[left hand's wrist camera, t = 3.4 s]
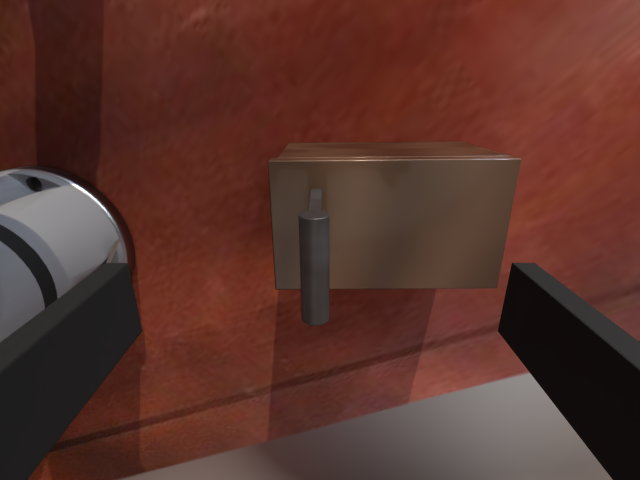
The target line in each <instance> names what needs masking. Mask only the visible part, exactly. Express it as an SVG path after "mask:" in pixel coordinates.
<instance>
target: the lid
mask: <svg viewBox="0 0 640 480" xmlns="http://www.w3.org/2000/svg"><path fill="white" fill-rule="evenodd" d="M520 162H521V159H520V158H517V157H513V156H445V157H329V158H270V159H269V161H268V172H269V189H270V205H271V222H272V239H273V256H274V272H275V288H276V289H301V314H302V320H303V322H304V323H306V324H308V325H313V326H318V325H323V324H325V323H326V322H328V320H329V318H330V289H442V288H497V286H498V281H499V275H500V270H501V264H502V259H503V254H504V248H505V243H506V237H507V232H508V227H509V221H510V216H511V210H512V205H513V199H514V194H515V189H516V183H517V178H518V172H519V167H520Z"/></svg>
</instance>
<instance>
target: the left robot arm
mask: <svg viewBox="0 0 640 480" xmlns="http://www.w3.org/2000/svg"><path fill="white" fill-rule="evenodd" d="M133 268H134V246H133V241H132V238H131V235H130V232H129V229H128V227H127V225H126V223H125V221H124V219H123V218H122V216H121V214H120V213H119V211H118V210H117V209H116V208H115V206H114V205H113V204H112V203H111V202H110V201H109V199H108V198H107V197H105V196H104V195H103V194H102V193H101V192H100V191H99V190H97V189H96V188H95V187H94V186H92V185H91V184H89V183H88V182H86V181H84V180H83V179H81V178H79V177H77V176H75V175H73V174H71V173H68V172H65V171H62V170H59V169H55V168H50V167H44V166H23V167H17V168H13V169H8V170H3V171H0V480H27V479H28V478H29V477H30V475H31V474H32V473H33V471H34V470H35V469H36V468H37V466H38V465H39V464H40V462H41V461H42V460H43V458H44V457H45V456H46V455H47V453H48V452H49V451H50V449H51V448H52V447H53V446H54V444H55V443H56V442H57V440H58V439H59V438H60V437H61V435H62V434H63V433H64V431H65V430H66V429H67V427H68V426H69V425H70V424H71V422H72V421H73V420H74V418H75V417H76V416H77V415H78V413H79V412H80V411H81V409H82V408H83V407H84V405H85V404H86V403H87V402H88V400H89V399H90V398H91V396H92V395H93V394H94V393H95V391H96V390H97V389H98V387H99V386H100V385H101V384H102V382H103V381H104V380H105V378H106V377H107V376H108V374H109V373H110V372H111V371H112V369H113V368H114V367H115V365H116V364H117V363H118V362H119V360H120V359H121V358H122V356H123V355H124V354H125V352H126V351H127V350H128V349H129V347H130V346H131V345H132V343H133V342H134V341H135V340H136V338H137V337H138V336H139V334H140V333H141V332H142V329H141V324H140V319H139V314H138V309H137V304H136V300H135V295H134V290H133V285H132V280H131V276H132V272H133ZM498 332H499V333H500V334H501V336H502V337H503V338H504V340H505V341H506V342H507V343H508V345H509V346H510V347H511V349H512V350H513V351H514V352H515V354H516V355H517V356H518V358H519V359H520V360H521V362H522V363H523V364H524V365H525V367H526V368H527V369H528V371H529V372H530V373H531V374H532V376H533V377H534V378H535V380H536V381H537V382H538V383H539V385H540V386H541V387H542V389H543V390H544V391H545V393H546V394H547V395H548V396H549V398H550V399H551V400H552V402H553V403H554V404H555V405H556V407H557V408H558V409H559V411H560V412H561V413H562V414H563V416H564V417H565V418H566V420H567V421H568V422H569V424H570V425H571V426H572V427H573V429H574V430H575V431H576V433H577V434H578V435H579V437H580V438H581V439H582V440H583V442H584V443H585V444H586V446H587V447H588V448H589V449H590V451H591V452H592V453H593V454H594V456H595V457H596V458H597V460H598V461H599V462H600V464H601V465H602V466H603V468H604V469H605V470H606V471H607V473H608V474H609V475H610V477H611V478H612V479H613V480H640V341H637V340H636V339H635V338H633V337H632V336H631V335H629V334H628V333H627V332H625V331H624V330H623V329H621V328H620V327H619V326H617V325H616V324H615V323H613V322H612V321H611V320H609V319H608V318H607V317H605V316H604V315H603V314H601V313H600V312H599V311H597V310H596V309H595V308H593V307H592V306H591V305H590V304H588V303H587V302H586V301H584V300H583V299H582V298H580V297H579V296H578V295H576V294H575V293H574V292H572V291H571V290H570V289H568V288H567V287H566V286H564V285H563V284H562V283H560V282H559V281H558V280H556V279H555V278H554V277H552V276H551V275H550V274H548V273H547V272H546V271H544V270H543V269H542V268H540V267H539V266H538V265H537V264H535V263H512V266H511V271H510V275H509V280H508V285H507V290H506V295H505V300H504V304H503V309H502V314H501V319H500V324H499V329H498Z"/></svg>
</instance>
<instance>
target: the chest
mask: <svg viewBox="0 0 640 480" xmlns="http://www.w3.org/2000/svg"><path fill="white" fill-rule="evenodd" d="M445 156H510V155H507V154H503V153H500V152H497V151H493V150H490V149H486V148H483V147H479V146H476V145H472V144H469V143H465V142H351V143H289V144H288V145H287V146H286V148H285V149H284V150H283V151H282V153H281V154H280V155H279V156H278V158H329V157H445Z"/></svg>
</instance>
